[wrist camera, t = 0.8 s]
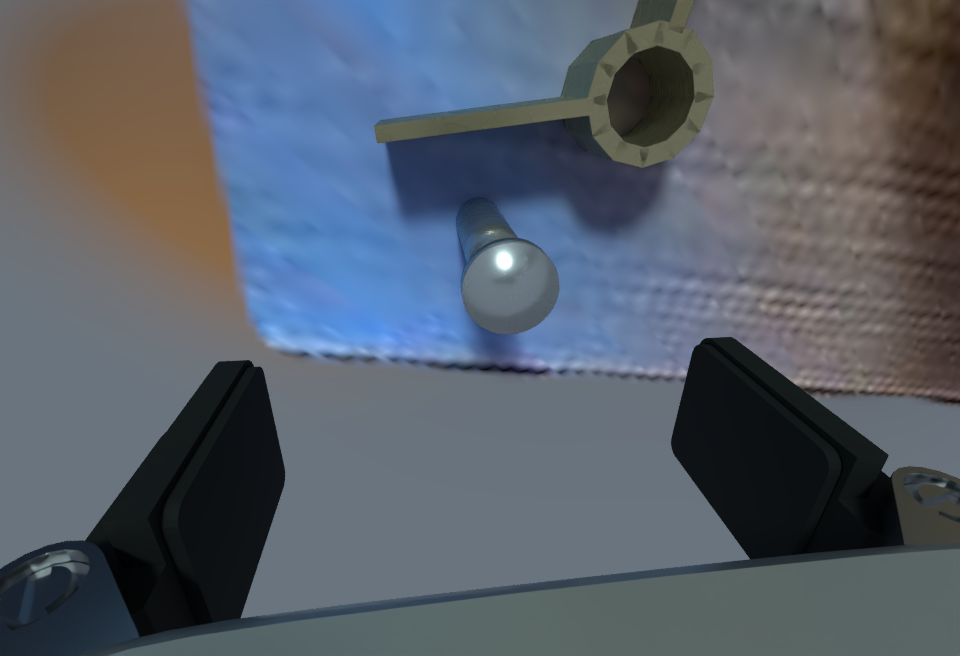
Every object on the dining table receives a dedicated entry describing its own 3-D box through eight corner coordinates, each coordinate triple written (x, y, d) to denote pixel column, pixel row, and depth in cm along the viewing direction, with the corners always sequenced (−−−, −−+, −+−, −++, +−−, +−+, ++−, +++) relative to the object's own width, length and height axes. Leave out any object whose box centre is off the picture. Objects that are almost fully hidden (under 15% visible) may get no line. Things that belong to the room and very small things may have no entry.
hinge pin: (517, 196, 30) (572, 253, 20) (501, 257, 32) (543, 340, 21) (454, 181, 30) (474, 233, 19) (440, 245, 31) (452, 326, 21)
